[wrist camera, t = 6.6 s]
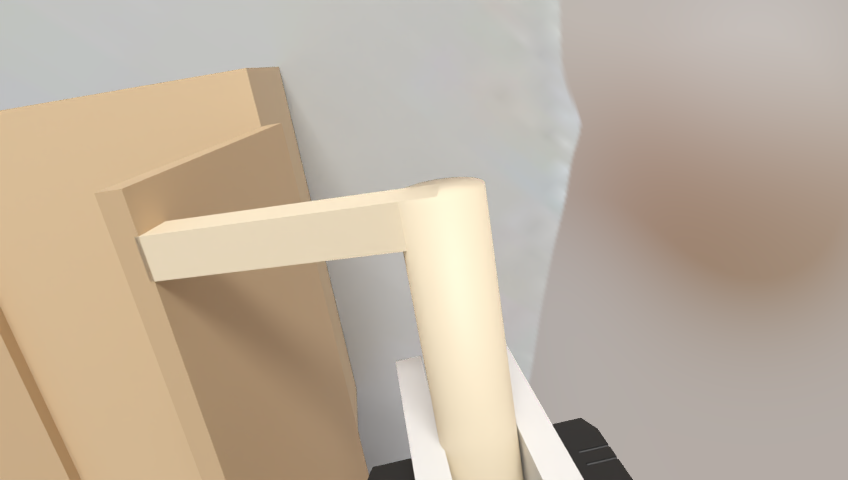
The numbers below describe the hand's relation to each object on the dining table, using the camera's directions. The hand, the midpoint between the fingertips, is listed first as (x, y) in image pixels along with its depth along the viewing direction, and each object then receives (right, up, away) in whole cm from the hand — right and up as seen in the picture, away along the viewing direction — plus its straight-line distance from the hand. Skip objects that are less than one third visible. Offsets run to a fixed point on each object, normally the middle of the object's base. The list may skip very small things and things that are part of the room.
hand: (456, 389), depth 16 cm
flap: (-6, 0, +1) cm, 6 cm away
